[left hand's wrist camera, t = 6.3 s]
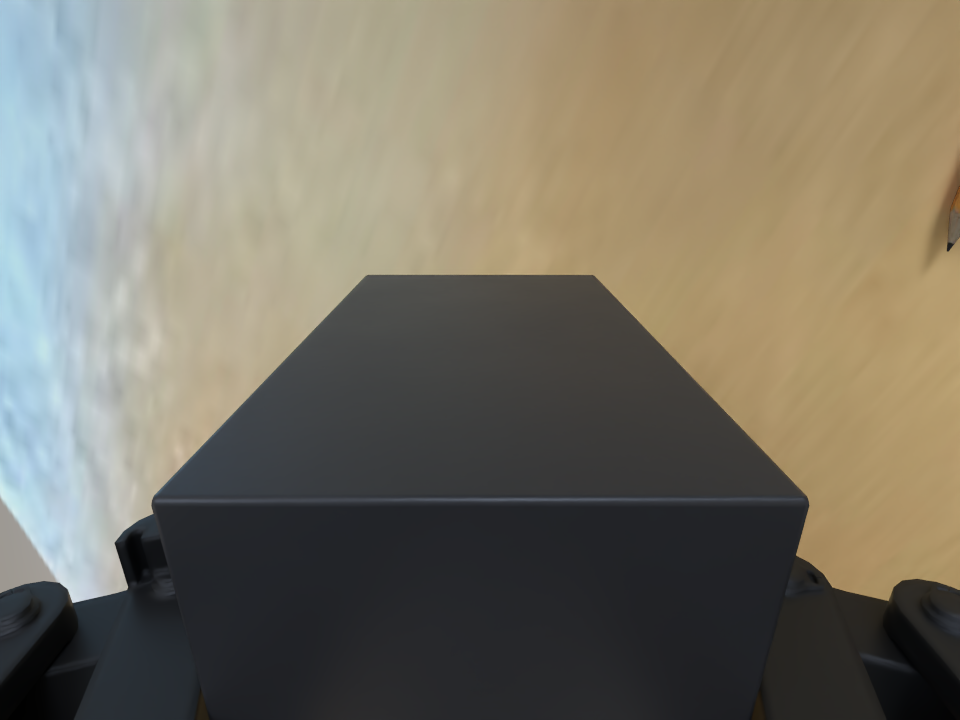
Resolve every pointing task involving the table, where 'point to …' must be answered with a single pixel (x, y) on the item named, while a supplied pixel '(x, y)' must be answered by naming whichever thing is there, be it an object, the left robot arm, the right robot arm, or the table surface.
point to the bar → (480, 520)
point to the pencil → (954, 221)
